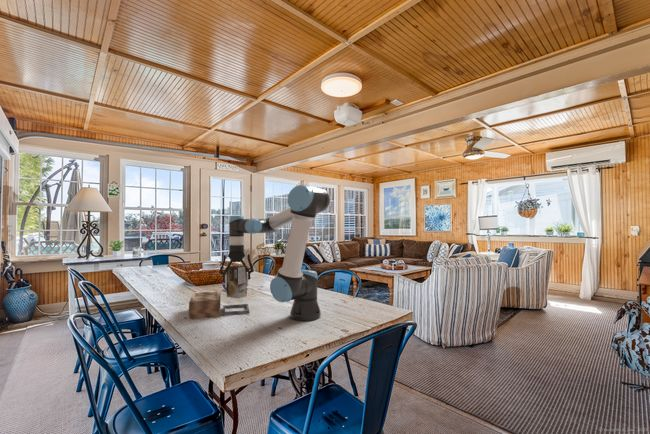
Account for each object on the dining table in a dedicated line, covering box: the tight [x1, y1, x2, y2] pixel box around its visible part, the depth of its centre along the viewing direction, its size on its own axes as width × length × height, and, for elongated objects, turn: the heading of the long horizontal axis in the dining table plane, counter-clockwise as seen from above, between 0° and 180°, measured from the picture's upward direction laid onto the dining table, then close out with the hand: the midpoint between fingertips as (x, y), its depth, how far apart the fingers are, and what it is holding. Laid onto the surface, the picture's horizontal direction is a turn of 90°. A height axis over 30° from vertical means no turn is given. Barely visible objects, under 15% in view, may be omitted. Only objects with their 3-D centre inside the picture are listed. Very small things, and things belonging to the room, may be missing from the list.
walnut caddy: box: [188, 290, 250, 320], centre depth 163 cm, size 28×18×10 cm, turn 107°
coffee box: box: [226, 264, 248, 299], centre depth 166 cm, size 9×6×16 cm
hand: (236, 286), depth 165 cm, fingers closed on coffee box, 10 cm apart
